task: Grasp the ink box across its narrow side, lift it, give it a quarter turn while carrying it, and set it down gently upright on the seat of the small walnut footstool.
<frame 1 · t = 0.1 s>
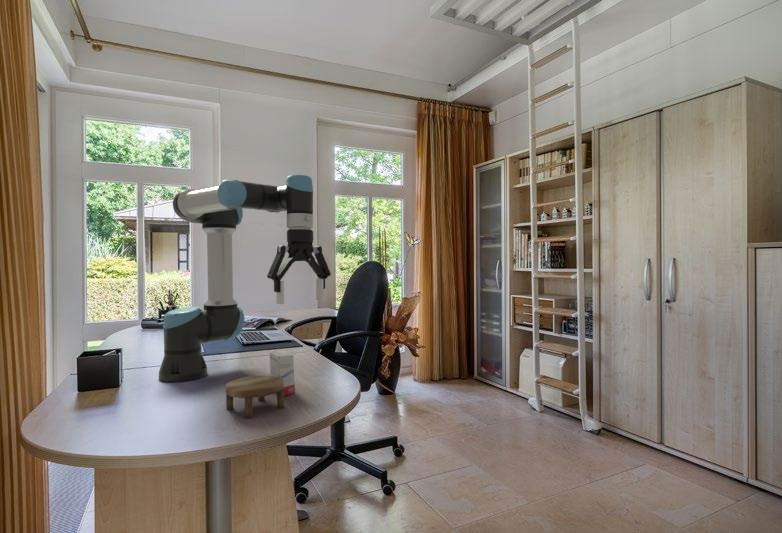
hand: (300, 302, 126), 28 cm above the table, fingers open, 13 cm apart
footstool: (255, 408, 116), on the table
ink box: (282, 392, 131), on the table
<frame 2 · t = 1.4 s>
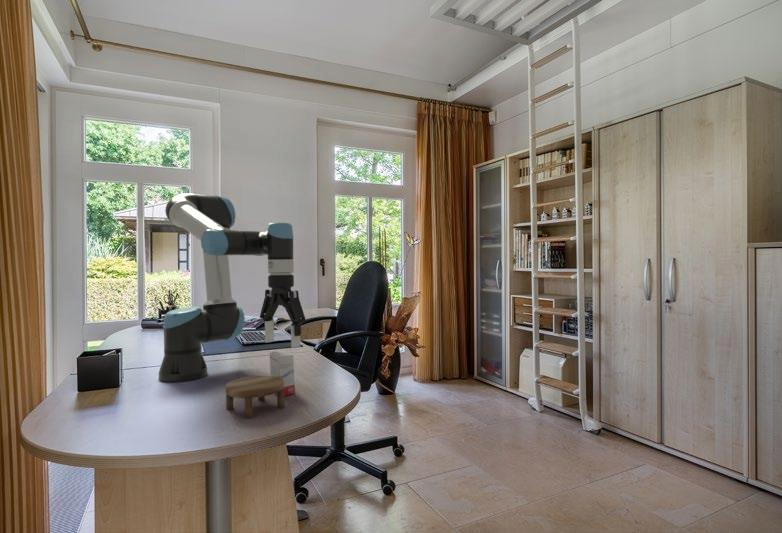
hand: (282, 344, 130), 14 cm above the table, fingers open, 13 cm apart
nothing on the table moved.
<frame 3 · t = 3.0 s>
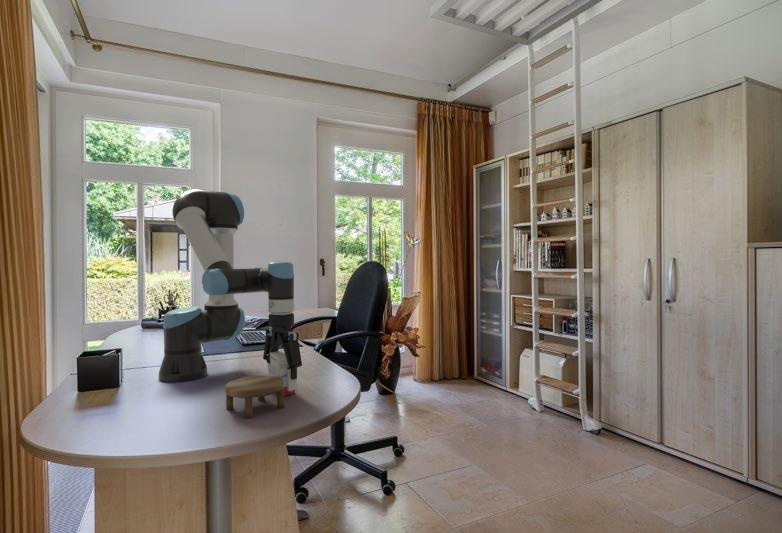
hand: (282, 386, 130), 2 cm above the table, fingers closed on ink box, 9 cm apart
ink box: (282, 392, 130), on the table, touching gripper
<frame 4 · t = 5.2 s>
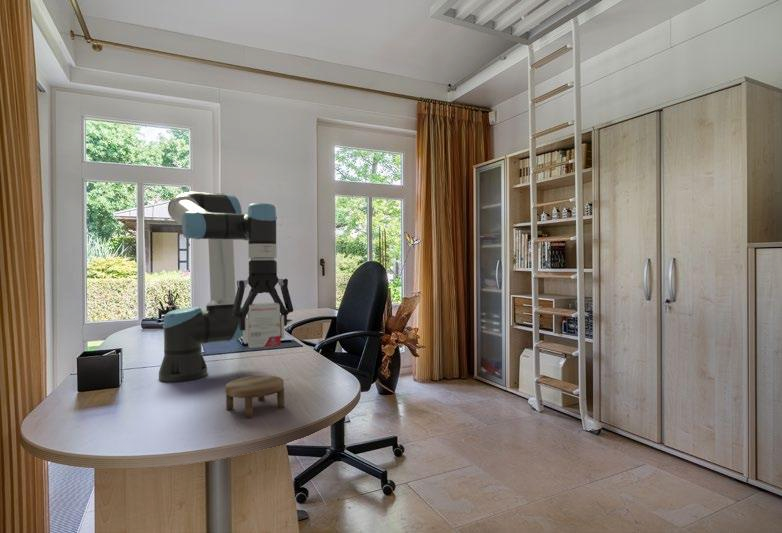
hand: (263, 339, 120), 18 cm above the table, fingers closed on ink box, 9 cm apart
ink box: (264, 346, 120), point 16 cm above the table, touching gripper
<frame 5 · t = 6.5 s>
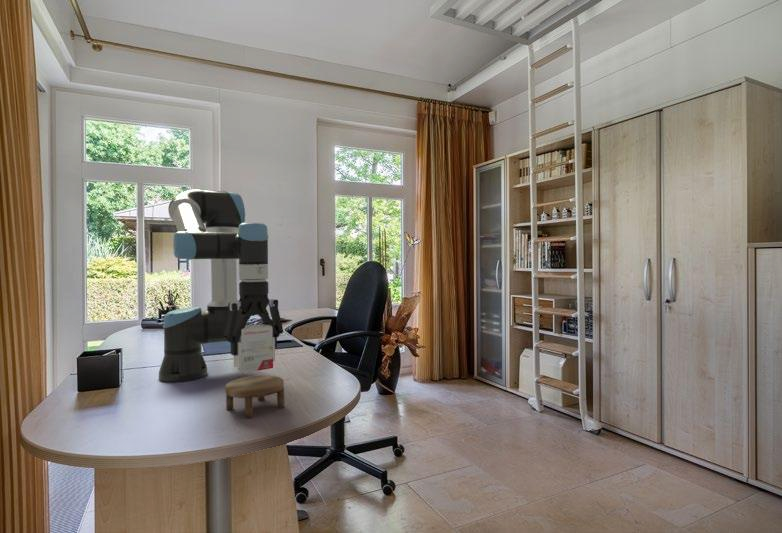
hand: (255, 363, 116), 12 cm above the table, fingers closed on ink box, 9 cm apart
ink box: (255, 370, 116), point 10 cm above the table, touching gripper
when the fingers open (10 cm above the table, at t = 7.4 s): ink box drops 1 cm, resting on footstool.
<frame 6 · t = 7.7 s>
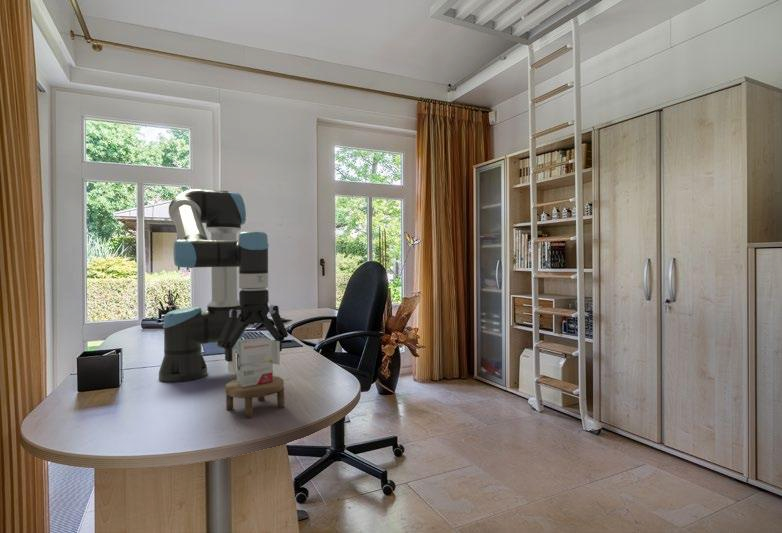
hand: (254, 368, 116), 11 cm above the table, fingers open, 12 cm apart
ink box: (254, 383, 116), point 7 cm above the table, touching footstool
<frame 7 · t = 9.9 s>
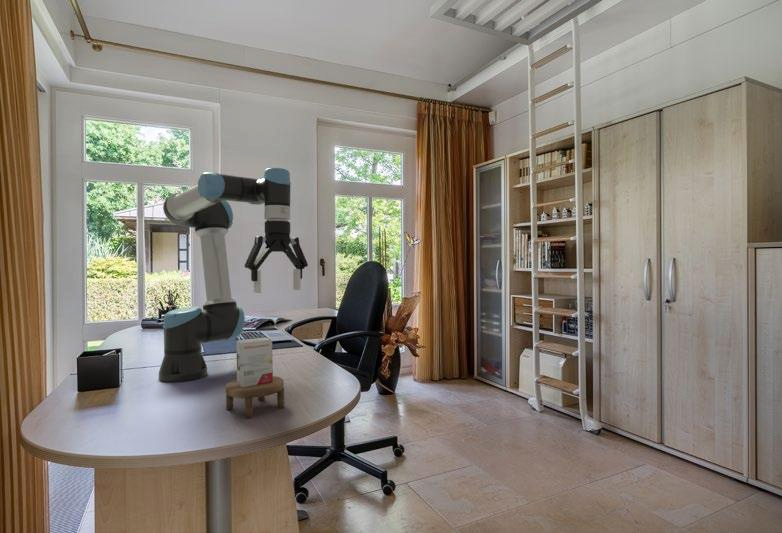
hand: (277, 291, 130), 31 cm above the table, fingers open, 13 cm apart
nothing on the table moved.
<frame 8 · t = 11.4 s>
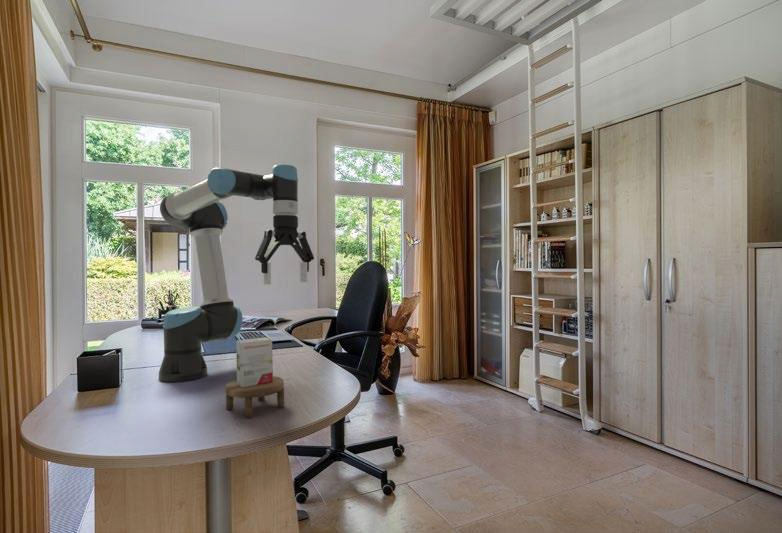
hand: (286, 283, 135), 33 cm above the table, fingers open, 13 cm apart
nothing on the table moved.
at the end: ink box inside the target area on the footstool (0.1 cm from its centre), point 6.6 cm above the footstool's base; ink box tilted 0°; the gripper is holding nothing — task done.
